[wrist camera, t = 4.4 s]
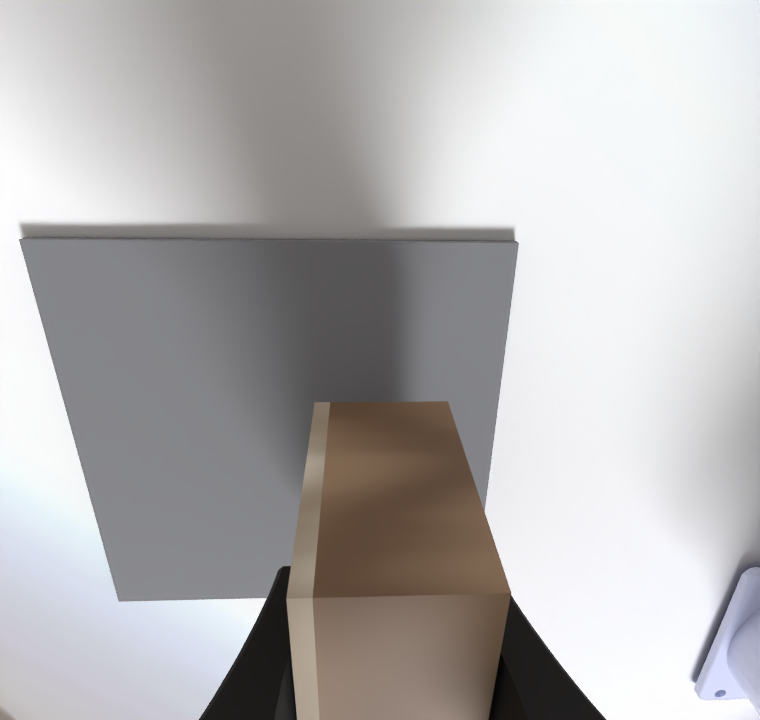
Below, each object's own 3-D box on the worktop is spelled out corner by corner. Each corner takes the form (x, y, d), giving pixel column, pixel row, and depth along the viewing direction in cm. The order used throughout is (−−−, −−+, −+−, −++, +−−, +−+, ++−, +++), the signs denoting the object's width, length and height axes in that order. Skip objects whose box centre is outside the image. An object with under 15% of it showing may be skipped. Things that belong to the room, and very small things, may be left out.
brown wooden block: (447, 401, 13) (511, 593, 8) (430, 611, 17) (466, 845, 11) (314, 402, 13) (286, 598, 8) (323, 614, 17) (309, 852, 11)
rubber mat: (515, 240, 15) (518, 243, 15) (472, 586, 21) (474, 592, 20) (25, 237, 14) (19, 239, 14) (122, 594, 20) (118, 601, 20)
